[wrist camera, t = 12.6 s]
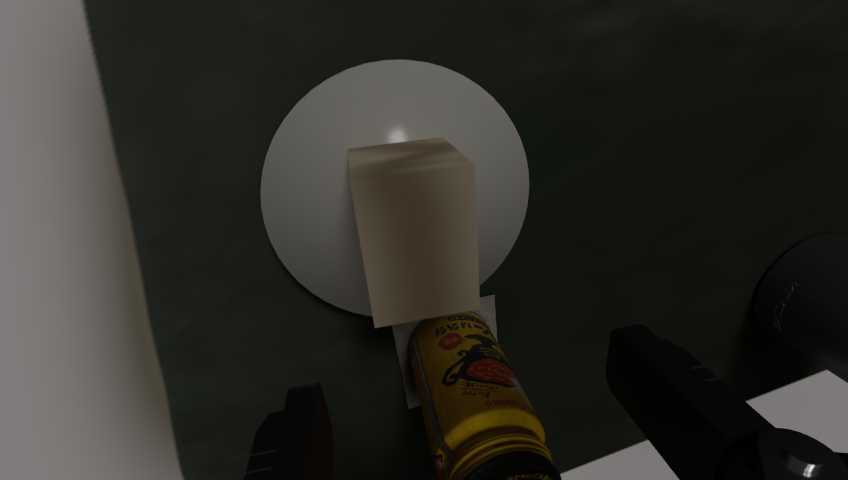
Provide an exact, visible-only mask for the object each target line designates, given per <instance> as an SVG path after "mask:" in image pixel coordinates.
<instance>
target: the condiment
mask: <svg viewBox="0 0 848 480" xmlns="http://www.w3.org/2000/svg"><path fill="white" fill-rule="evenodd" d="M392 329H393V334H394V339H395V343H396V349H397V354H398V359H399V363H400V368H401V373H402V378H403V384H404V388H405V393H406V398H407V403H408V408H409V409H410V408H413V407H417V406H420V405H421V409H422V413H423V418H424V422H425V426H426V431H427V436H428V439H429V444H430V448H431V454H432V458H433V461H434V465H435V468H436V471H437V473H438V475H439V477H440V478H441V479H442V480H561V476H560V473H559V472H558V470H557V469H556V467H555V466H554V464H553V462H552V460H551V455H550V452H549V450H548V448H547V447H546V445H545V444H544V442H545V432H544V430H543V427H542V423H541V422H540V421H539V419H538V417H537V415H536V413H535V411H534V408H533V407H532V406H531V404H530V402H529V399H528V398H527V396H526V395H525V393H524V391H523V389H522V387H521V386H520V384H519V381H518V380H517V378H516V376H515V374H514V372H513V371H512V368H511V367H510V366H509V363H508V361H507V359H506V358H505V356H504V353H503V352H502V350H501V349H500V346H499V345H498V342H497V330H496V316H495V295H490V296H485V297H481V298H480V309H478V310H472V311H467V312H461V313H456V314H450V315H445V316H439V317H434V318H428V319H423V320H417V321H412V322H406V323H401V324H395V325H392Z"/></svg>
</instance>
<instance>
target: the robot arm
mask: <svg viewBox="0 0 848 480" xmlns="http://www.w3.org/2000/svg"><path fill="white" fill-rule="evenodd" d="M754 314H755V317H756V320H757V322H758V323H759V324H760V325H761V326H762V327H763V328H765V329H766V330H768V331H770V332H771V333H773V334H774V335H776V336H777V337H779V338H780V339H782V340H783V341H785V342H786V343H788V344H789V345H791V346H792V347H794V348H795V349H797V350H798V351H800V352H802V353H803V354H805V355H806V356H808V357H809V358H810V359H812V360H813V361H815V362H816V363H818V364H819V365H821V366H823V367H824V368H826V369H827V370H829V371H830V372H832V373H833V374H835V375H836V376H838V377H839V378H841V379H843V380H844V381H846V382H847V383H848V236H845V235H843V234H837V233H828V234H822V235H818V236H816V237H813V238H810V239H808V240H806V241H804V242H802V243H800V244H798V245H797V246H795V247H794V248H793V249H791V250H790V251H788V252H787V253H786V254H785V255H784V256H783V257H781V258H780V259H779V260H778V261H777V262H776V263H775V264H774V266H773V267H772V268H771V269H770V270H769V272H768V273H767V274H766V276H765V278H764V279H763V281H762V282H761V284H760V286H759V289H758V291H757V293H756V297H755V302H754ZM606 379H607V382H608V385H609V388H610V390H611V392H612V393H613V395H614V396H615V397H616V399H617V400H618V401H619V402H620V404H621V405H622V406H623V408H624V409H625V410H626V411H627V413H628V414H629V415H630V417H631V418H632V419H633V420H634V422H635V423H636V424H637V426H638V427H639V428H640V429H641V431H642V432H643V433H644V435H645V436H646V437H647V438H648V440H649V441H650V442H651V443H652V445H653V446H654V447H655V449H656V450H657V451H658V453H659V454H660V455H661V456H662V458H663V459H664V460H665V461H666V463H667V464H668V465H669V467H670V468H671V469H672V471H673V472H674V473H675V474H676V476H677V477H678V478H679V479H680V480H848V453H838V452H833V451H832V450H831V449H830V448H828V447H827V446H826V445H824V444H823V443H821V442H819V441H818V440H816V439H814V438H812V437H810V436H808V435H805V434H802V433H800V432H797V431H794V430H789V429H783V428H775V427H774V426H773V425H771V424H770V423H769V422H768V421H767V420H766V419H765V418H763V417H762V416H761V415H760V414H759V413H758V412H756V411H755V410H754V409H753V408H752V407H751V406H750V405H748V404H747V403H746V402H745V401H744V400H743V399H742V398H740V397H739V396H738V395H737V394H736V393H735V392H734V391H732V390H731V389H730V388H729V387H728V386H727V385H726V384H724V383H723V382H722V381H721V380H718V379H717V378H716V376H715V375H714V374H713V373H712V372H711V371H710V370H708V369H707V368H704V367H703V364H702V363H700V362H699V361H698V360H697V359H696V358H695V357H694V356H692V355H691V354H690V353H689V352H688V351H687V350H685V349H683V348H681V347H679V346H677V345H675V344H673V343H671V342H670V341H668V340H666V339H665V340H660V339H659V338H658V337H657V336H656V335H655V334H654V333H653V332H651V331H650V330H649V329H648V328H647V327H646V326H644V325H641V324H638V325H633V326H628V327H622V328H617V329H614V330H612V332H611V335H610V342H609V350H608V357H607V365H606ZM332 469H333V433H332V427H331V422H330V418H329V414H328V410H327V407H326V403H325V399H324V395H323V391H322V387H321V385H320V383H319V382H318V383H313V384H307V385H302V386H296V387H291V388H289V390H288V393H287V398H286V403H285V409H284V411H280V412H275V413H269V414H268V416H267V417H266V419H265V420H264V422H263V423H262V425H261V426H260V428H259V429H258V431H257V432H256V435H255V438H254V442H253V446H252V450H251V458H249V462H248V466H247V470H246V472H247V474H246V475H245V478H244V480H332Z"/></svg>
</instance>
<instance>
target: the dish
mask: <svg viewBox="0 0 848 480" xmlns="http://www.w3.org/2000/svg"><path fill="white" fill-rule="evenodd" d="M438 137H443V138H444V139H445V140H446V141H448V142H449V143H450V144H451V145H452V146H454V147H455V148H456V149H457V150H458V151H460V152H461V153H462V154H463V155H464V156H466V157H467V158H468V159H469V160H470V161H472V162H473V163H474V164H475V176H476V206H477V237H478V268H479V286H480V285H481V284H482V283H483V282H485V281H486V280H487V279H488V278H489V277H490V276H491V275H492V274H493V273H494V272H495V271H496V269H497V268H498V267H499V266H500V264H501V263H502V262H503V261H504V259H505V258H506V256H507V255H508V253H509V252H510V250H511V249H512V247H513V245H514V243H515V241H516V239H517V237H518V235H519V232H520V230H521V227H522V224H523V221H524V218H525V213H526V209H527V204H528V195H529V171H528V166H527V160H526V155H525V151H524V148H523V145H522V142H521V139H520V137H519V135H518V133H517V131H516V129H515V126H514V124H513V123H512V121H511V120H510V118H509V117H508V115H507V114H506V112H505V111H504V109H503V108H502V107H501V106H500V105H499V104H498V103H497V101H496V100H495V99H494V98H493V97H492V96H491V95H490V94H488V93H487V92H486V91H485V90H484V89H483V88H481V87H480V86H479V85H478V84H476V83H474V82H473V81H471V80H470V79H468V78H466V77H465V76H463V75H461V74H459V73H457V72H454V71H452V70H450V69H447V68H445V67H441V66H438V65H434V64H430V63H427V62H419V61H411V60H381V61H375V62H369V63H364V64H361V65H358V66H355V67H351V68H348V69H346V70H344V71H342V72H339V73H337V74H335V75H333V76H331V77H329V78H328V79H326V80H325V81H323V82H322V83H320V84H319V85H317V86H316V87H315V88H313V89H312V90H311V91H310V92H309V93H308V94H306V95H305V96H304V97H303V98H302V99H301V100H300V101H299V102H298V103H297V104H296V105H295V107H294V108H293V109H292V110H291V112H290V113H289V114H288V115H287V116H286V118H285V119H284V120H283V122H282V124H281V125H280V127H279V129H278V130H277V132H276V134H275V136H274V138H273V140H272V142H271V145H270V147H269V150H268V152H267V155H266V159H265V163H264V167H263V171H262V180H261V209H262V214H263V219H264V224H265V227H266V230H267V233H268V236H269V239H270V242H271V244H272V245H273V247H274V249H275V251H276V253H277V255H278V257H279V258H280V260H281V261H282V263H283V264H284V265H285V267H286V268H287V270H288V271H289V272H290V273H291V274H292V275H293V276H294V277H295V278H296V279H297V281H298V282H299V283H301V284H302V285H303V286H304V287H305V288H307V289H308V290H309V291H310V292H312V293H313V294H315V295H316V296H318V297H319V298H321V299H322V300H324V301H326V302H328V303H330V304H332V305H334V306H336V307H338V308H341V309H344V310H347V311H350V312H353V313H357V314H362V315H367V316H373V315H372V309H371V303H370V297H369V291H368V286H367V280H366V274H365V268H364V262H363V257H362V251H361V245H360V239H359V233H358V227H357V222H356V216H355V210H354V204H353V198H352V193H351V187H350V180H349V162H348V149H350V148H358V147H366V146H374V145H382V144H390V143H398V142H406V141H414V140H422V139H430V138H438Z"/></svg>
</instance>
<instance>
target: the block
mask: <svg viewBox="0 0 848 480" xmlns="http://www.w3.org/2000/svg"><path fill="white" fill-rule="evenodd" d="M348 162H349V180H350V187H351V193H352V198H353V204H354V210H355V216H356V222H357V227H358V233H359V239H360V245H361V251H362V257H363V262H364V268H365V274H366V280H367V286H368V291H369V297H370V303H371V309H372V315H373V321H374V326H375V328H379V327H384V326H390V325H395V324H401V323H406V322H412V321H417V320H423V319H428V318H434V317H439V316H445V315H450V314H456V313H461V312H467V311H472V310H478V309H480V298H479V268H478V237H477V206H476V176H475V164H474V163H473V162H472V161H470V160H469V159H468V158H467V157H466V156H464V155H463V154H462V153H461V152H460V151H458V150H457V149H456V148H455V147H454V146H452V145H451V144H450V143H449V142H448V141H446V140H445V139H444V138H443V137H438V138H430V139H422V140H414V141H406V142H398V143H390V144H382V145H374V146H366V147H358V148H350V149H348Z"/></svg>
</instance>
